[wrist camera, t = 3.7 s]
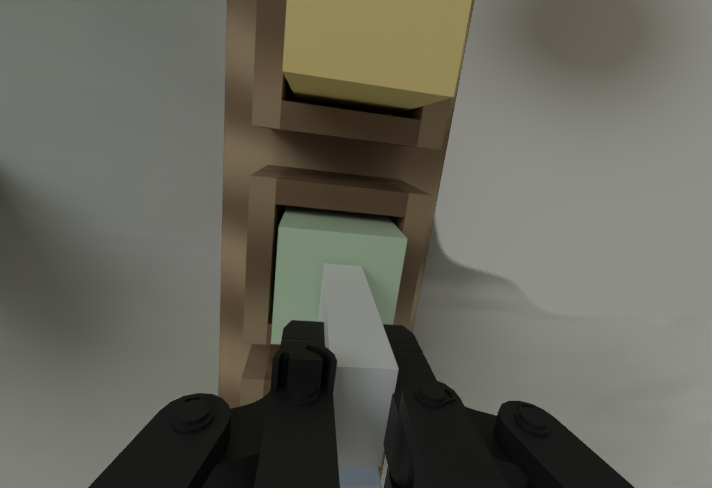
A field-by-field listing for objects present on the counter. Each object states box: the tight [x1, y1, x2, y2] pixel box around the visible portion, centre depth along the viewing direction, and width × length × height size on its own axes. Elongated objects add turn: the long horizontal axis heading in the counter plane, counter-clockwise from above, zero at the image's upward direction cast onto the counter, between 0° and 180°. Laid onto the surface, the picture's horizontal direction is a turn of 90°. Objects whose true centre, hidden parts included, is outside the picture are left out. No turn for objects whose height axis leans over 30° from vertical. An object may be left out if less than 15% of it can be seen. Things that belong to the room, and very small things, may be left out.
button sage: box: [271, 205, 407, 344], centre depth 18 cm, size 5×5×7 cm
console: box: [219, 0, 474, 480], centre depth 20 cm, size 32×13×7 cm, turn 173°
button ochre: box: [282, 0, 472, 113], centre depth 13 cm, size 5×5×7 cm
